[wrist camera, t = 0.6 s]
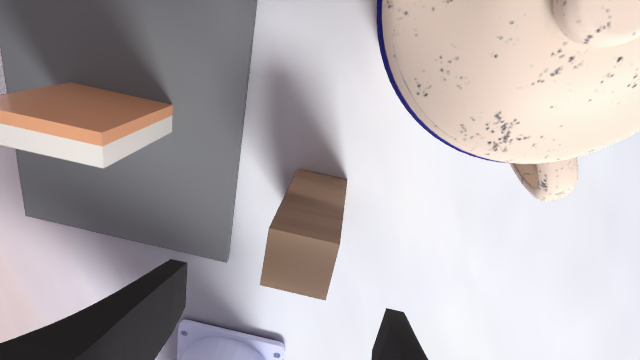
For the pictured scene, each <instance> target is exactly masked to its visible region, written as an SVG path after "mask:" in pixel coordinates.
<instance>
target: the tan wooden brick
mask: <svg viewBox="0 0 640 360" xmlns="http://www.w3.org/2000/svg"><path fill="white" fill-rule="evenodd" d="M346 187H347V180H346V179H342V178H337V177H333V176H329V175H324V174H320V173H315V172H311V171H306V170H302V169H297V171H296V173H295V175H294V177H293V179H292V181H291V183H290V186H289V188H288V190H287V192H286V194H285V196H284V198H283V200H282V202H281V204H280V206H279V208H278V210H277V212H276V215H275V217H274V219H273V221H272V223H271V225H270V227H269V231H268V237H267V244H266V250H265V256H264V263H263V269H262V275H261V282H260V285H262V286H266V287H271V288H275V289H279V290H284V291H288V292H292V293H296V294H301V295H305V296H309V297H313V298H318V299H322V300H326V296H327V293H328V289H329V285H330V281H331V277H332V273H333V269H334V265H335V261H336V257H337V253H338V249H339V245H340V238H341V230H342V221H343V213H344V204H345V195H346Z"/></svg>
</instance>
